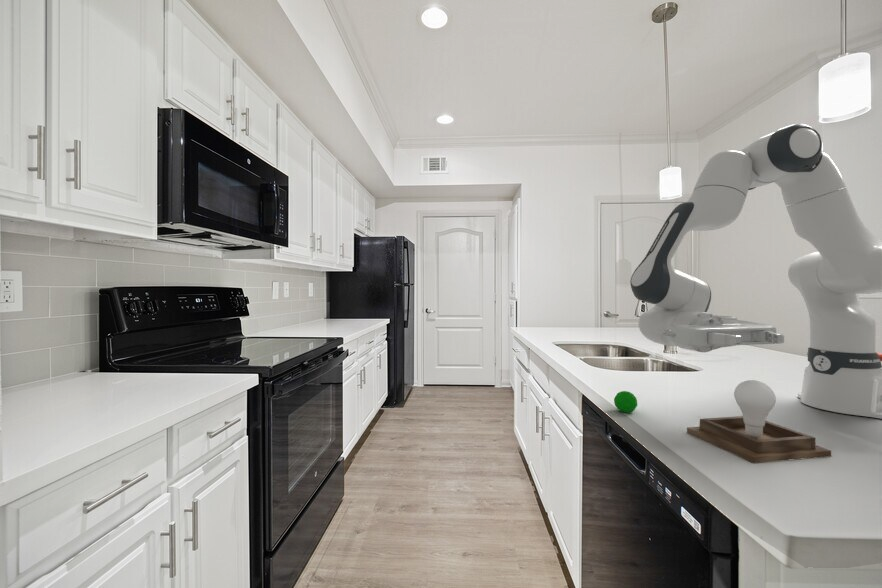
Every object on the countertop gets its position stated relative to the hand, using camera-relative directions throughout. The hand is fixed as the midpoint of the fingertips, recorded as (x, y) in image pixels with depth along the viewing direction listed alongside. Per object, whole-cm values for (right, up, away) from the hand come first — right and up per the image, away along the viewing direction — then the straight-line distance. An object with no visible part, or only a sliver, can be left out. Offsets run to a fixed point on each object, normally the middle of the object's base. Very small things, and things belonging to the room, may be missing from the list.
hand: (759, 339), depth 71 cm
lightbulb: (0, -19, +1) cm, 19 cm away
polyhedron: (-15, -20, +20) cm, 32 cm away
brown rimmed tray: (0, -20, +1) cm, 20 cm away
